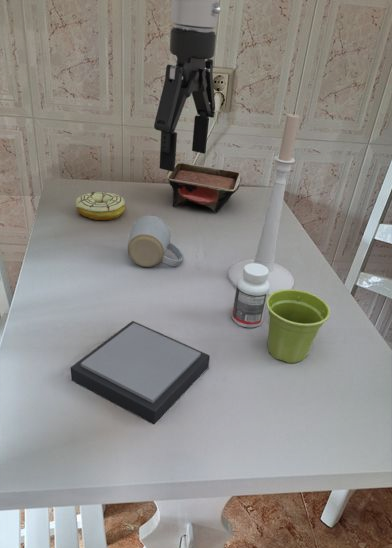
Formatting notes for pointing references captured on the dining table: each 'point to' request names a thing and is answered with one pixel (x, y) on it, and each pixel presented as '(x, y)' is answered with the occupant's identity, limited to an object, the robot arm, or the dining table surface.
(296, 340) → the plant pot
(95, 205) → the decorated donut
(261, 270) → the pill bottle
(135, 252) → the ceramic mug
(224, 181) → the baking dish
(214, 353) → the dining table surface
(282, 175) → the candlestick
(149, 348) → the scale
